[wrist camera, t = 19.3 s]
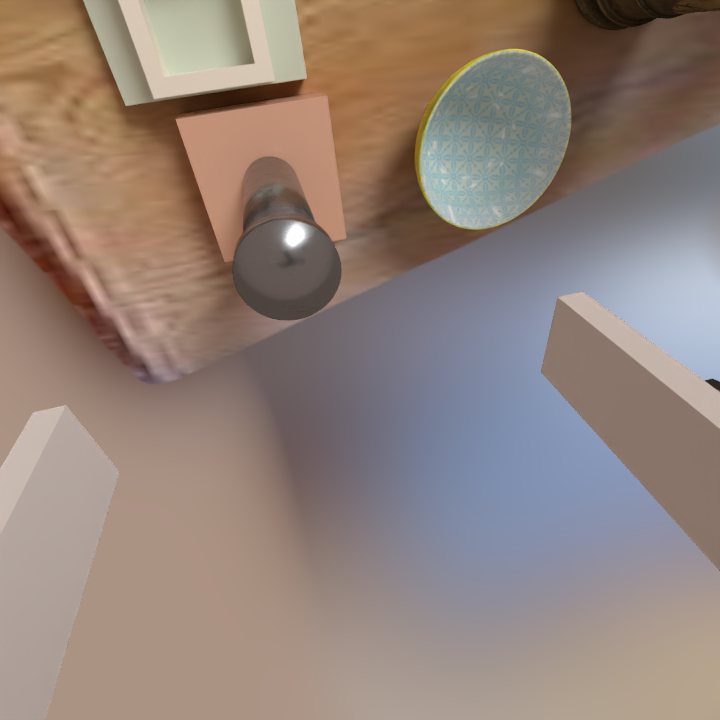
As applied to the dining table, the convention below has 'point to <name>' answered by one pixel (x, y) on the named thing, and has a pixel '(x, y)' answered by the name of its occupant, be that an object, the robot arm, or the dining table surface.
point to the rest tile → (260, 139)
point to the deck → (197, 45)
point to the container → (639, 11)
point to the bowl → (493, 138)
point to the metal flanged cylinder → (282, 246)
